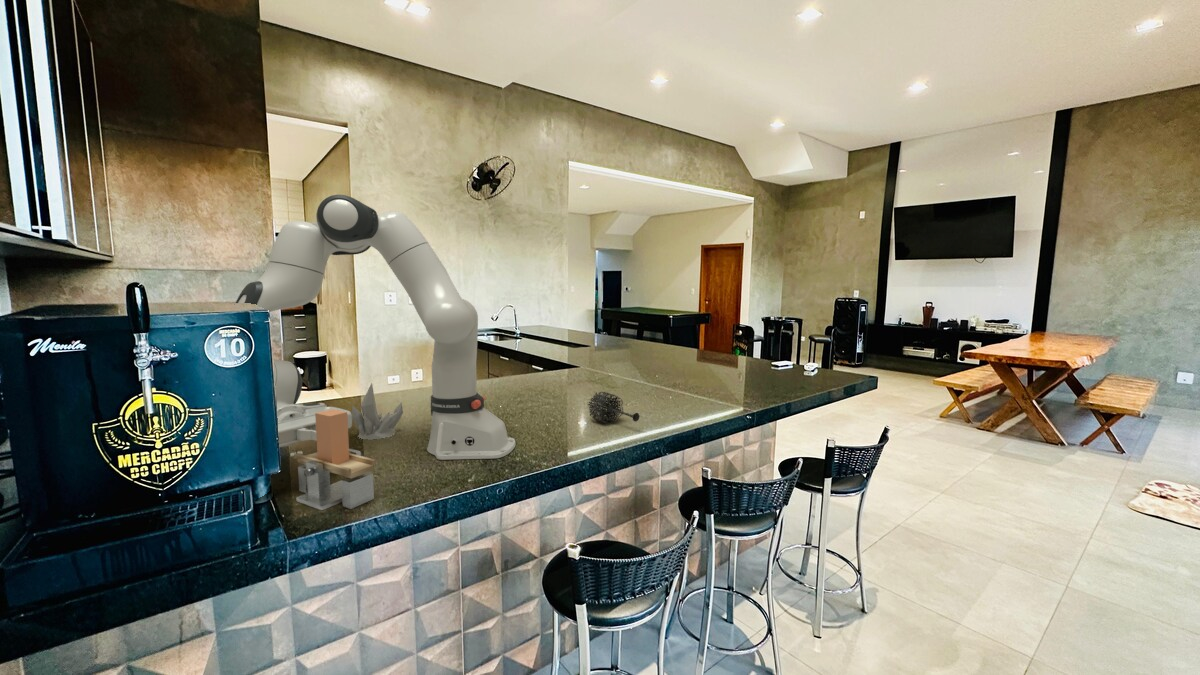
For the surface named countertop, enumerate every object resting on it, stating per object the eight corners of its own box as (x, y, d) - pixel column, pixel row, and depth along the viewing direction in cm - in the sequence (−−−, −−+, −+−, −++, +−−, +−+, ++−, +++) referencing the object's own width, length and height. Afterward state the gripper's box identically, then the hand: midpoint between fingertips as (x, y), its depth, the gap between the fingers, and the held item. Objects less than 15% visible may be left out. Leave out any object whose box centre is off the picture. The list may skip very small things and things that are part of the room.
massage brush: (624, 435, 137) (624, 403, 136) (578, 418, 154) (578, 390, 153) (647, 430, 143) (648, 399, 142) (600, 414, 160) (601, 386, 159)
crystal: (406, 435, 135) (405, 383, 133) (354, 443, 128) (351, 388, 126) (401, 426, 143) (399, 377, 142) (351, 433, 136) (349, 381, 135)
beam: (293, 463, 97) (293, 454, 97) (323, 454, 102) (323, 445, 102) (347, 480, 89) (346, 469, 89) (376, 469, 94) (376, 459, 94)
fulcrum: (282, 497, 95) (280, 458, 94) (337, 477, 105) (335, 442, 104) (334, 516, 87) (332, 474, 87) (387, 492, 97) (386, 455, 97)
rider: (317, 462, 95) (315, 413, 94) (335, 456, 98) (332, 409, 97) (332, 466, 93) (329, 416, 92) (349, 460, 96) (347, 412, 95)
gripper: (227, 422, 93) (267, 433, 87) (328, 401, 111) (367, 408, 105) (229, 453, 94) (269, 466, 87) (329, 427, 112) (368, 436, 105)
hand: (323, 434), depth 96 cm, fingers closed
